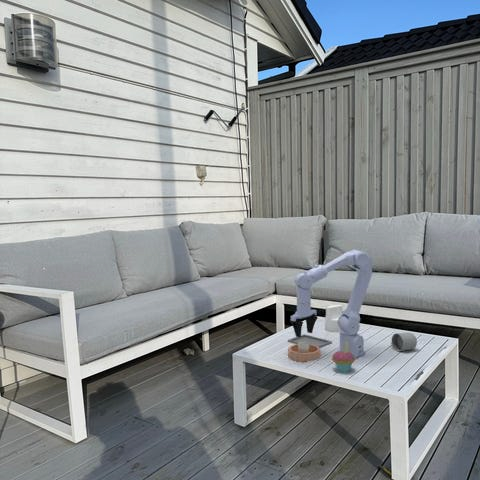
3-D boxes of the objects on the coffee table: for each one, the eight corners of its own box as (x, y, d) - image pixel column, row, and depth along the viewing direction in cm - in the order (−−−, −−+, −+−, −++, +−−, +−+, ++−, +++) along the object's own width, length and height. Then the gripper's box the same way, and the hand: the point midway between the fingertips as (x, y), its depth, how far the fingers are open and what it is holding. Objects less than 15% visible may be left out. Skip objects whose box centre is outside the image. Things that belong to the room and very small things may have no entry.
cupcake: (358, 369, 173) (358, 338, 172) (348, 375, 167) (347, 344, 166) (338, 364, 179) (338, 334, 178) (327, 370, 172) (327, 339, 171)
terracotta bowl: (326, 356, 188) (326, 348, 187) (306, 364, 179) (306, 356, 179) (302, 349, 197) (302, 341, 197) (282, 356, 188) (282, 348, 188)
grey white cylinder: (334, 333, 220) (334, 309, 219) (321, 329, 227) (321, 305, 226) (347, 330, 225) (347, 306, 224) (334, 326, 232) (334, 303, 231)
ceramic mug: (418, 350, 192) (418, 333, 191) (403, 353, 189) (403, 335, 188) (400, 344, 202) (400, 327, 201) (386, 346, 199) (386, 329, 198)
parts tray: (332, 344, 203) (332, 341, 203) (315, 350, 195) (315, 347, 195) (304, 337, 215) (304, 334, 215) (287, 342, 207) (287, 339, 206)
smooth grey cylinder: (311, 354, 188) (311, 343, 187) (304, 357, 185) (304, 345, 184) (303, 352, 191) (303, 340, 191) (296, 354, 188) (295, 342, 188)
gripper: (307, 298, 194) (307, 329, 195) (284, 304, 184) (285, 336, 185) (320, 300, 189) (320, 332, 190) (298, 306, 179) (298, 340, 180)
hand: (304, 334), depth 187 cm, fingers open, 7 cm apart
